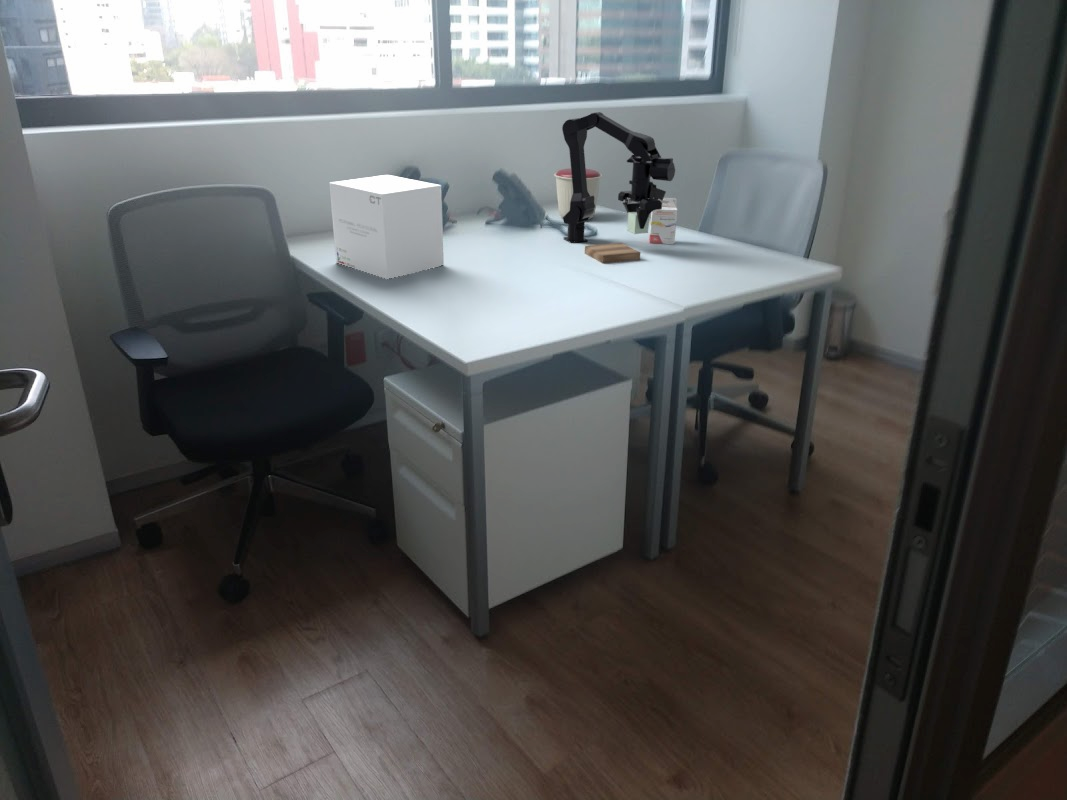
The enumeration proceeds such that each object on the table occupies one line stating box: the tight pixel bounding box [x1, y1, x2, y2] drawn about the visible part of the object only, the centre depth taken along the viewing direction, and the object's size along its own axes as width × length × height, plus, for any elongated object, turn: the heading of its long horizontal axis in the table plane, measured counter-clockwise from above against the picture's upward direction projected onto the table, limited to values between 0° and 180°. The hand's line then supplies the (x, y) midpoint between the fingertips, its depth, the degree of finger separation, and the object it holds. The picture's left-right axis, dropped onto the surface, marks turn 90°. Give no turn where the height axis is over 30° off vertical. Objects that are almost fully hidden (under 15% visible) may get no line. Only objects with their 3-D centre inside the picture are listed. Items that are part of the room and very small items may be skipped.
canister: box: [553, 167, 603, 220], centre depth 307 cm, size 18×18×21 cm
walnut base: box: [584, 242, 641, 264], centre depth 258 cm, size 13×13×3 cm
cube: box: [328, 174, 445, 280], centre depth 241 cm, size 25×21×24 cm
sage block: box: [626, 212, 650, 235], centre depth 262 cm, size 5×5×6 cm
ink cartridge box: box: [648, 197, 678, 245], centre depth 274 cm, size 9×5×15 cm, turn 84°
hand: (637, 227), depth 263 cm, fingers closed on sage block, 5 cm apart
